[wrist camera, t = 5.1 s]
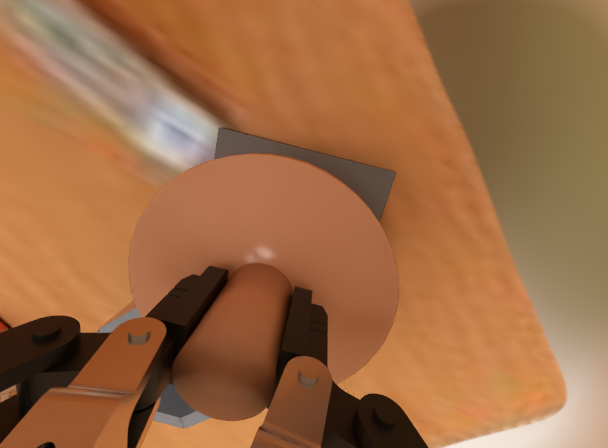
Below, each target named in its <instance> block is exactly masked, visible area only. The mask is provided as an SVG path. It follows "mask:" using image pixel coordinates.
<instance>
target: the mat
mask: <svg viewBox="0 0 608 448" xmlns="http://www.w3.org/2000/svg"><path fill="white" fill-rule="evenodd" d="M247 153H265V154H275V155H281V156H287V157H292V158H295V159H298V160H301V161H304V162H308V163H310V164H312V165H314V166H317V167H319V168H321V169H323V170H325V171H327V172H329V173H330V174H332V175H333V176H335V177H336V178H338V179H340V180H341V181H343V182H344V183H345V184H346V185H347V186H349V187H350V188H351V189H352V190H353V191H355V192H356V193H357V194H358V195H359V196H360V198H361V199H362V200H363V201H364V202H365V203H366V204H367V205H368V206H369V208H370V209H371V211H372V212H373V214H374V215H375V217H376V218H377V219H378V221H379V222H380V219H381V216H382V213H383V210H384V207H385V204H386V201H387V198H388V195H389V192H390V189H391V186H392V183H393V180H394V177H395V174H396V172H394V171H390V170H386V169H382V168H378V167H374V166H370V165H366V164H363V163H359V162H355V161H351V160H347V159H343V158H339V157H335V156H331V155H327V154H323V153H319V152H315V151H311V150H307V149H304V148H300V147H296V146H292V145H288V144H284V143H280V142H276V141H272V140H268V139H264V138H260V137H256V136H252V135H249V134H245V133H241V132H237V131H233V130H229V129H225V128H219V131H218V138H217V145H216V153H215V159H219V158H223V157H227V156H231V155H238V154H247Z"/></svg>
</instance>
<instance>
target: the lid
mask: <svg viewBox="0 0 608 448" xmlns="http://www.w3.org/2000/svg"><path fill="white" fill-rule="evenodd" d="M128 264H129V280H130V285H131V290H132V294H133V297H134V301H135V304H136V307H137V309H138V311H139V313H140V315H141V317H145V316H146V315H147V314H148V313H149V312H150V311H151V310H152V309H153V308H154V307H155V306H156V305H157V304H158V303H159V302H160V301H161V300H162V299H163V298H164V297H165V296H166V295H167V294H168V293H169V292H170V290H171V289H173V288H174V286H175V285H176V284H177V283H178V282H179V281H180V280H181V279H183V278H185V277H188V276H190V275H192V274H195V275H199V276H200V275H201V274H202V273H203V272H204V271H205V270H206V269H207V267H208V266H210V265H211V266H215V267H219V268H223V269H227V270H228V271H229V274H228V281H227V282H226V284H225V285H224V287H223V288H222V290H221V291H220V293H219V294H218V296H217V297H216V298H215V300H214V301H213V303H212V304H211V306H210V307H209V309H208V310H207V312H206V313H205V315H204V316H203V318H202V319H201V321H200V322H199V324H198V325H197V327H196V328H195V330H194V331H193V333H192V334H191V336H190V337H189V339H188V340H187V342H186V343H185V345H184V346H183V348H182V349H181V351H180V352H179V354H178V355H177V357H176V359H175V360H174V363H173V367H172V379H173V383H174V386H175V388H176V390H177V392H178V394H179V395H180V397H181V398H182V399H183V400H184V401H185V402H186V403H187V404H188V405H189V406H190V407H192V408H193V409H195V410H196V411H198V412H199V413H201V414H203V415H206V416H208V417H211V418H214V419H219V420H225V421H239V420H245V419H248V418H251V417H254V416H256V415H258V414H259V413H261V412H262V411H263V410H264V409H265V408H266V407H267V406H268V405H269V403H270V401H271V399H272V396H273V392H274V388H275V383H276V377H277V371H276V369H277V365H278V360H279V356H280V351H281V347H282V342H283V338H284V333H285V328H286V324H287V319H288V315H289V310H290V306H291V301H292V297H293V293H294V289H295V286H296V287H300V288H305V289H309V290H312V291H313V292H312V302H311V303H312V304H317V305H321V306H323V307H324V309H325V311H326V313H327V315H328V334H327V335H328V370H329V371H330V373H331V376H332V380H333V381H334V382H335V384H338V383H340V382H342V381H344V380H345V379H347V378H348V377H350V376H352V375H353V374H355V373H356V372H357V371H358V370H360V369H361V368H362V367H363V366H364V365H366V364H367V363H368V362H369V360H370V359H371V358H372V357H373V356H374V355H375V354H376V353H377V351H378V350H379V348H380V347H381V345H382V344H383V343H384V341H385V339H386V337H387V335H388V333H389V331H390V329H391V327H392V324H393V321H394V318H395V315H396V311H397V305H398V298H399V277H398V271H397V264H396V260H395V257H394V254H393V251H392V247H391V245H390V242H389V240H388V238H387V236H386V234H385V232H384V230H383V228H382V226H381V224H380V223H379V221H378V219H377V218H376V217H375V215H374V214H373V212H372V211H371V209H370V208H369V206H368V205H367V204H366V203H365V202H364V201H363V200H362V199H361V198H360V196H359V195H358V194H357V193H356V192H355V191H353V190H352V189H351V188H350V187H349V186H347V185H346V184H345V183H344V182H343V181H341V180H340V179H338V178H336V177H335V176H333V175H332V174H330V173H329V172H327V171H325V170H323V169H321V168H319V167H317V166H314V165H312V164H310V163H308V162H304V161H301V160H298V159H295V158H292V157H287V156H281V155H275V154H265V153H247V154H238V155H231V156H227V157H223V158H219V159H215V160H211V161H208V162H205V163H203V164H200V165H198V166H195V167H193V168H190V169H188V170H187V171H185V172H183V173H182V174H180V175H178V176H177V177H175V178H174V179H172V180H171V181H170V182H169V183H168V184H166V185H165V186H164V187H163V188H162V189H160V190H159V192H158V193H157V194H156V195H155V196H154V197H153V198H152V200H151V201H150V202H149V203H148V205H147V206H146V208H145V210H144V211H143V213H142V214H141V216H140V218H139V220H138V223H137V225H136V227H135V230H134V233H133V237H132V240H131V244H130V251H129V261H128Z"/></svg>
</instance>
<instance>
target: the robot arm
mask: <svg viewBox="0 0 608 448" xmlns="http://www.w3.org/2000/svg"><path fill="white" fill-rule="evenodd" d="M228 274H229V271H228V270H227V269H223V268H219V267H215V266H211V265H210V266H208V267H207V269H206V270H205V271H204V272H203V273H202V274H201V275H200V276H199V275H195V274H192V275H190V276H188V277H185V278H183V279H181V280H180V281H179V282H178V283H177V284H176V285H175V286H174V288H173V289H171V290H170V292H169V293H168V294H167V295H166V296H165V297H164V298H163V299H162V300H161V301H160V302H159V303H158V304H157V305H156V306H155V307H154V308H153V309H152V310H151V311H150V312H149V313H148V314H147V315H146V316H145V317H140V318H134V319H130V320H128V321H125V322H123V323H121V324H120V325H118V326H117V327H116V328H115V329H114V330H113V331H112V332H110V333H80V323H79V322H78V321H77V320H76V319H74V318H72V317H68V316H49V317H44V318H40V319H37V320H34V321H31V322H28V323H25V324H23V325H20V326H17V327H14V328H12V329H9V330H6V331H4V332H1V333H0V392H2V391H4V390H6V389H8V388H10V387H12V386H14V385H16V392H17V394H16V395H14V396H12V397H10V398H8V399H6V400H4V401H2V402H0V448H141V446H142V444H143V442H144V439H145V437H146V435H147V432H148V430H149V428H150V425H151V423H152V421H153V418H154V416H155V414H156V411H157V409H158V407H159V404H160V400H161V394H162V393H163V391H164V390H165V388H166V387H167V385H168V384H172V385H174V383H173V379H172V367H173V363H174V360H175V359H176V357H177V355H178V354H179V352H180V351H181V349H182V348H183V346H184V345H185V343H186V342H187V340H188V339H189V337H190V336H191V334H192V333H193V331H194V330H195V328H196V327H197V325H198V324H199V322H200V321H201V319H202V318H203V316H204V315H205V313H206V312H207V310H208V309H209V307H210V306H211V304H212V303H213V301H214V300H215V298H216V297H217V296H218V294H219V293H220V291H221V290H222V288H223V287H224V285H225V284H226V282H227V281H228ZM312 292H313V291H312V290H309V289H305V288H300V287H296V286H295V289H294V293H293V297H292V301H291V306H290V310H289V315H288V319H287V324H286V328H285V333H284V338H283V342H282V347H281V351H280V356H279V360H278V365H277V369H276V371H277V377H276V383H275V388H274V392H273V396H272V399H271V401H270V403H269V405H268V406H267V408H268V409H269V410H268V412H267V415H266V417H265V420H264V422H263V425H262V427H261V426H260V427H259V429H258V431H257V433H256V435H255V438H254V440H253V443H252V445H251V447H250V448H428V446H427V445H426V443H425V442H424V440H423V439H422V437H421V436H420V434H419V433H418V431H417V430H416V428H415V427H414V426H413V424H412V423H411V421H410V420H409V418H408V417H407V415H406V414H405V412H404V411H403V410H402V408H401V407H400V406H399V405H398V404H397V403H395V402H394V401H393V400H391V399H390V398H388V397H386V396H383V395H380V394H368V395H365V396H364V397H363V398H361V400H359V399H357V398H355V397H354V396H352V395H350V394H348V393H346V392H345V391H343V390H342V389H341V388H339V387H338V386H337V385H336V384H335V382H334V381H333V380H332V376H331V373H330V371H329V370H328V335H327V334H328V315H327V313H326V311H325V309H324V307H323V306H321V305H317V304H312V303H311V302H312Z"/></svg>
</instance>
